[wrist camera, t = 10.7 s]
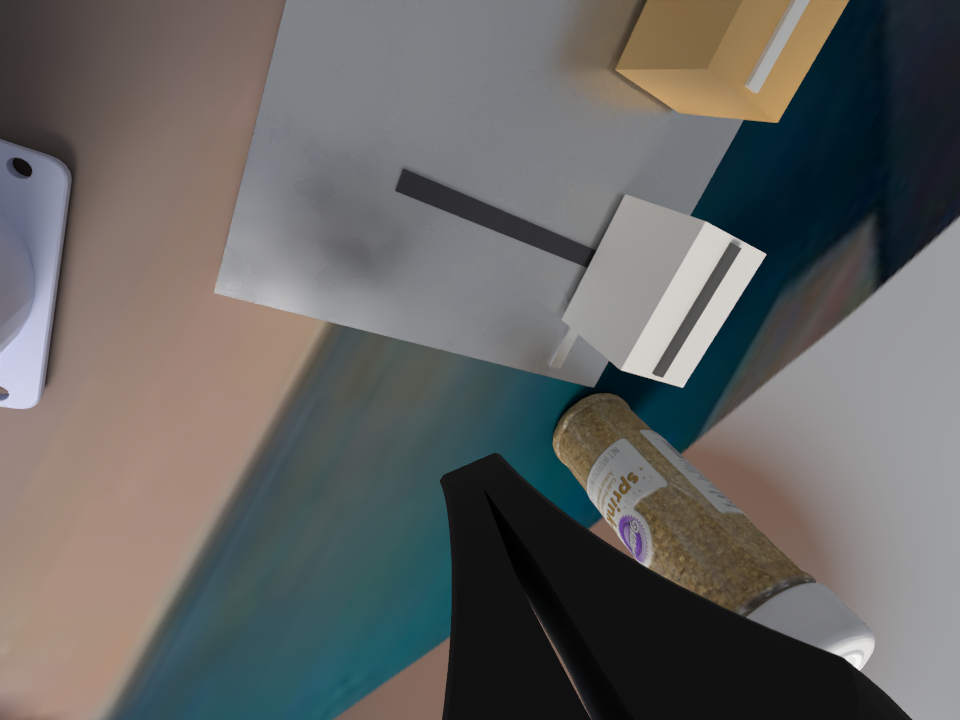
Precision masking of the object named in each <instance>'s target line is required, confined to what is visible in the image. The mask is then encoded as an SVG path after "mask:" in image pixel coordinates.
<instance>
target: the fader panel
mask: <svg viewBox="0 0 960 720" xmlns="http://www.w3.org/2000/svg"><path fill="white" fill-rule="evenodd" d="M646 2H647V0H286V3H285V7H284V11H283V15H282V19H281V23H280V27H279V31H278V36H277V40H276V44H275V48H274V52H273V56H272V60H271V64H270V68H269V72H268V76H267V80H266V84H265V88H264V92H263V96H262V101H261V105H260V109H259V113H258V117H257V121H256V125H255V129H254V133H253V137H252V141H251V145H250V149H249V153H248V157H247V161H246V166H245V170H244V174H243V178H242V182H241V186H240V190H239V194H238V198H237V202H236V206H235V210H234V214H233V218H232V222H231V226H230V231H229V235H228V239H227V243H226V247H225V251H224V255H223V259H222V263H221V267H220V271H219V275H218V279H217V283H216V287H215V291H214V293H217V294H221V295H225V296H229V297H233V298H237V299H241V300H245V301H249V302H253V303H257V304H261V305H265V306H269V307H273V308H277V309H281V310H285V311H289V312H293V313H297V314H301V315H305V316H309V317H313V318H317V319H321V320H325V321H329V322H333V323H337V324H341V325H345V326H349V327H353V328H357V329H361V330H365V331H369V332H373V333H377V334H381V335H385V336H389V337H393V338H397V339H401V340H405V341H409V342H413V343H417V344H421V345H425V346H429V347H433V348H437V349H441V350H445V351H449V352H453V353H457V354H461V355H465V356H469V357H473V358H477V359H481V360H485V361H489V362H493V363H497V364H501V365H505V366H509V367H513V368H517V369H521V370H525V371H529V372H533V373H537V374H541V375H545V376H549V377H553V378H557V379H561V380H565V381H569V382H573V383H577V384H581V385H585V386H589V387H593V388H594V386H595V385H596V383H597V381H598V379H599V378H600V376H601V374H602V372H603V370H604V369H605V367H606V365H607V363H608V361H609V360H608V359H607V358H606V357H604V356H603V355H602V354H601V353H600V352H599V351H597V350H596V349H595V348H594V347H593V346H592V345H590V344H589V343H588V342H587V341H586V340H584V339H583V338H582V337H581V336H580V335H579V334H577V333H576V332H575V331H574V330H573V329H572V328H570V327H569V326H568V325H567V324H566V323H565V322H563V321H562V318H563V316H564V314H565V312H566V310H567V308H568V306H569V304H570V302H571V300H572V298H573V296H574V294H575V292H576V290H577V288H578V286H579V284H580V282H581V280H582V278H583V276H584V274H585V272H586V270H587V268H588V266H589V265H590V263H591V261H592V259H593V257H594V255H595V253H596V251H597V249H598V247H599V245H600V243H601V241H602V239H603V237H604V235H605V233H606V231H607V229H608V227H609V225H610V223H611V221H612V219H613V217H614V215H615V213H616V211H617V209H618V207H619V205H620V203H621V201H622V200H623V198H624V196H625V194H627V195H629V196H632V197H635V198H638V199H641V200H644V201H647V202H650V203H653V204H656V205H659V206H662V207H665V208H668V209H671V210H674V211H677V212H679V213H682V214H685V215H688V216H690V215H691V213H692V211H693V210H694V208H695V206H696V204H697V202H698V201H699V199H700V197H701V195H702V194H703V192H704V190H705V188H706V186H707V185H708V183H709V181H710V179H711V177H712V176H713V174H714V172H715V170H716V169H717V167H718V165H719V163H720V161H721V160H722V158H723V156H724V154H725V152H726V151H727V149H728V147H729V145H730V144H731V142H732V140H733V138H734V136H735V135H736V133H737V131H738V129H739V127H740V126H741V124H742V122H743V119H732V118H722V117H712V116H701V115H691V114H680V113H678V112H677V111H675V110H674V109H672V108H671V107H669V106H668V105H666V104H665V103H663V102H662V101H660V100H659V99H657V98H656V97H655V96H653V95H652V94H650V93H649V92H647V91H646V90H644V89H643V88H641V87H640V86H638V85H637V84H635V83H634V82H632V81H631V80H629V79H628V78H626V77H625V76H623V75H622V74H620V73H619V72H617V71H616V70H615V69H616V67H617V64H618V62H619V60H620V58H621V56H622V54H623V51H624V49H625V47H626V45H627V43H628V41H629V39H630V36H631V34H632V32H633V30H634V28H635V26H636V23H637V21H638V19H639V17H640V15H641V13H642V10H643V8H644V6H645V4H646Z"/></svg>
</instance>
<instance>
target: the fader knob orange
mask: <svg viewBox="0 0 960 720" xmlns="http://www.w3.org/2000/svg"><path fill="white" fill-rule="evenodd" d="M848 1H849V0H647V2H646V4H645V6H644V8H643V10H642V13H641V15H640V17H639V19H638V21H637V23H636V26H635V28H634V30H633V32H632V34H631V36H630V39H629V41H628V43H627V45H626V47H625V49H624V51H623V54H622V56H621V58H620V60H619V62H618V64H617V67H616V69H615V70H616V71H617V72H619V73H620V74H622V75H623V76H625V77H626V78H628V79H629V80H631V81H632V82H634V83H635V84H637V85H638V86H640V87H641V88H643V89H644V90H646V91H647V92H649V93H650V94H652V95H653V96H655V97H656V98H657V99H659V100H660V101H662V102H663V103H665V104H666V105H668V106H669V107H671V108H672V109H674V110H675V111H677V112H678V113H680V114H691V115H701V116H712V117H722V118H732V119H743V120H753V121H763V122H774V123H778V121H779V120H780V118H781V116H782V115H783V113H784V111H785V109H786V108H787V106H788V104H789V103H790V101H791V99H792V97H793V96H794V94H795V92H796V91H797V89H798V87H799V85H800V84H801V82H802V80H803V78H804V77H805V75H806V73H807V72H808V70H809V68H810V66H811V65H812V63H813V61H814V60H815V58H816V56H817V54H818V53H819V51H820V49H821V48H822V46H823V44H824V42H825V41H826V39H827V37H828V36H829V34H830V32H831V30H832V29H833V27H834V25H835V24H836V22H837V20H838V18H839V17H840V15H841V13H842V12H843V10H844V8H845V6H846V5H847V3H848Z"/></svg>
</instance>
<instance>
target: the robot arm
mask: <svg viewBox="0 0 960 720" xmlns="http://www.w3.org/2000/svg"><path fill="white" fill-rule="evenodd" d="M14 158H21V159H23V160H25V161H27V162H28V163H29V165H30V166H31V167H32V172H33V173H32V175H31V177H30V176H24V175H22V174H20V173H18V172H17V171H16V170H15V168H14V166H13V160H14ZM71 181H72V180H71V173H70V171H69V169H68V168H67V166H66V165H65V164H64V163H63V162H62V161H60V160H59V159H57V158H55V157H53V156H51V155H48V154H45V153H42V152H39V151H36V150H33V149H29V148H26V147H23V146H20V145H17V144H14V143H11V142H8V141H5V140H2V139H0V387H3V388H5V389H6V390H7V391H8V393H9V394H1V393H0V407H8V408H15V409H27V408H31V407H33V406H35V405H36V404H37V403H38V402H39V401H40V399H41V398H42V396H43V393H44V386H45V378H46V371H47V363H48V356H49V348H50V340H51V333H52V325H53V318H54V310H55V303H56V295H57V287H58V280H59V272H60V265H61V257H62V250H63V242H64V234H65V227H66V219H67V212H68V204H69V197H70V189H71ZM440 483H441V485H442V488H443V492H444V496H445V500H446V506H447V512H448V520H449V528H450V543H451V559H452V614H451V635H450V650H449V662H448V673H447V683H446V691H445V701H444V710H443V717H442V720H912V719H911V718H910V717H909V716H908V715H907V714H906V713H905V712H904V711H903V710H902V709H901V708H900V707H899V706H898V705H897V704H896V703H895V702H894V701H893V700H892V699H891V698H890V697H889V696H888V695H887V694H886V693H885V692H884V691H883V690H881V689H880V688H879V687H878V686H877V685H876V684H874V683H873V682H872V681H871V680H870V679H869V678H867V677H866V676H865V675H864V674H863V673H861V672H860V671H859V670H858V669H857V668H856V667H854V666H853V665H852V664H851V663H849V662H848V661H847V660H846V659H845V658H843V657H841V656H838V655H836V654H833V653H831V652H828V651H826V650H823V649H821V648H818V647H815V646H813V645H810V644H808V643H805V642H802V641H800V640H798V639H795V638H793V637H790V636H788V635H785V634H783V633H781V632H778V631H776V630H773V629H771V628H768V627H766V626H764V625H762V624H759V623H757V622H755V621H753V620H750V619H748V618H746V617H744V616H741V615H739V614H737V613H735V612H732V611H730V610H728V609H726V608H724V607H722V606H720V605H718V604H716V603H714V602H712V601H710V600H708V599H706V598H704V597H702V596H700V595H698V594H696V593H694V592H692V591H690V590H688V589H686V588H684V587H682V586H680V585H678V584H676V583H674V582H672V581H670V580H669V579H667V578H665V577H663V576H661V575H660V574H658V573H656V572H654V571H653V570H651V569H649V568H647V567H645V566H644V565H642V564H640V563H639V562H637V561H635V560H634V559H632V558H630V557H629V556H627V555H625V554H624V553H622V552H621V551H619V550H618V549H616V548H614V547H613V546H611V545H610V544H608V543H607V542H605V541H604V540H602V539H601V538H599V537H598V536H596V535H595V534H594V533H592V532H591V531H589V530H588V529H586V528H585V527H584V526H582V525H581V524H579V523H578V522H577V521H575V520H574V519H573V518H571V517H570V516H569V515H567V514H566V513H565V512H564V511H562V510H561V509H560V508H558V507H557V506H556V505H555V504H553V503H552V502H551V501H550V500H548V499H547V498H546V497H545V496H543V495H542V494H541V493H540V492H539V491H537V490H536V489H535V488H534V487H533V486H532V485H531V484H530V483H528V482H527V481H526V480H525V479H524V478H523V477H522V476H521V475H520V474H519V473H518V472H517V471H515V470H514V469H513V468H512V467H511V466H510V465H509V463H508V462H507V461H506V460H505V459H504V458H503V457H502V456H501V455H500V454H497V453H493V454H491V455H489V456H486V457H484V458H482V459H479V460H477V461H475V462H472V463H470V464H468V465H465V466H463V467H461V468H459V469H456V470H454V471H452V472H449V473H447V474H445V475H443V477H442V478H441V480H440ZM531 606H532V607H531ZM532 608H533V609H532ZM533 610H534V611H535V613H536V615H537V617H538V618H539V620H540V622H541V624H542V625H543V627H544V629H545V630H546V632H547V634H548V636H549V637H550V639H551V641H552V643H553V644H554V646H555V648H556V649H557V651H558V653H559V655H560V656H561V658H562V660H563V662H564V664H565V666H566V668H567V670H568V671H569V673H570V675H571V677H572V679H573V682H574V684H575V686H576V688H577V690H578V692H579V694H580V696H581V698H582V701H583V702H584V705H585V707H586V709H587V711H588V713H589V715H590V717H589V715H588V713H587V712H586V710H585V708H584V706H583V704H582V702H581V700H580V699H579V697H578V695H577V693H576V691H575V689H574V688H573V686H572V684H571V682H570V680H569V678H568V676H567V674H566V672H565V670H564V668H563V667H562V665H561V663H560V661H559V659H558V657H557V655H556V653H555V651H554V649H553V648H552V646H551V644H550V642H549V640H548V638H547V636H546V634H545V632H544V630H543V628H542V626H541V624H540V623H539V621H538V619H537V617H536V615H535V613H534V611H533ZM590 718H591V719H590Z"/></svg>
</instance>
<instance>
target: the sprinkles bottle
mask: <svg viewBox="0 0 960 720" xmlns="http://www.w3.org/2000/svg"><path fill="white" fill-rule="evenodd" d="M552 444H553V447H554V451H555V453H556V455H557V457H558V458H559V459H560V460H561V461H562V462H563V463H564V464H565V465H567V466H568V468H569V469H570V470H571V472H572V473H573V474H574V476H575V477H576V478H577V480H578V481H579V482H580V483H581V485H582V486H583V488H584V489H585V490H586V491H587V493H588V496H589V498H590V499H591V501H592V502H593V503H594V505H595V506H596V507H597V509H598V510H599V511H600V513H601V514H602V515H603V517H604V518H605V519H606V521H607V522H608V523H609V525H610V526H611V527H612V529H613V530H614V531H615V532H616V534H617V535H618V536H619V538H620V539H621V541H622V542H623V543H624V544H625V545H626V547H627V548H628V549H629V551H630V552H631V553H632V555H633V556H634V557H635V559H636V560H637V561H638V562H639V563H640V564H642V565H644V566H645V567H647V568H649V569H651V570H653V571H654V572H656V573H658V574H660V575H661V576H663V577H665V578H667V579H669V580H670V581H672V582H674V583H676V584H678V585H680V586H682V587H684V588H686V589H688V590H690V591H692V592H694V593H696V594H698V595H700V596H702V597H704V598H706V599H708V600H710V601H712V602H714V603H716V604H718V605H720V606H722V607H724V608H726V609H728V610H730V611H732V612H735V613H737V614H739V615H741V616H744V617H746V618H748V619H750V620H753V621H755V622H757V623H759V624H762V625H764V626H766V627H768V628H771V629H773V630H776V631H778V632H781V633H783V634H785V635H788V636H790V637H793V638H795V639H798V640H800V641H802V642H805V643H808V644H810V645H813V646H815V647H818V648H821V649H823V650H826V651H828V652H831V653H833V654H836V655H838V656H841V657H843V658H845V659H846V660H847V661H848V662H849V663H851V664H852V665H853V666H854V667H856V668H857V669H858V670H859V671H860V669H861V668H862V667H863V666H864V664H865V663H866V662H867V660H868V659H869V657H870V655H871V654H872V652H873V649H874V646H875V636H874V634H873V632H872V630H871V629H870V628H869V627H868V626H867V625H866V624H865V623H864V622H863V621H862V620H861V619H860V618H859V617H858V616H857V615H856V614H855V613H854V612H853V611H852V610H851V609H850V608H849V607H848V606H847V605H846V604H845V603H844V602H843V601H842V600H841V599H840V598H839V597H838V596H837V595H836V594H834V593H833V592H832V591H831V590H830V589H829V588H828V587H827V586H826V585H824V584H821V583H816V581H815V578H814V577H813V576H811V575H810V574H808V573H806V572H803V571H801V570H800V569H799V568H798V566H796V565H795V563H794V562H793V561H791V560H790V559H789V558H788V557H787V556H786V555H785V554H784V553H783V552H781V551H780V550H779V549H778V548H777V547H776V546H775V545H774V544H773V543H772V542H771V541H770V540H769V539H768V538H767V537H766V536H765V535H764V534H763V533H762V532H761V531H760V530H758V529H757V528H756V526H754V525H753V524H752V523H751V522H750V521H749V519H748V518H747V516H746V515H745V514H744V513H743V512H742V511H741V510H740V509H739V508H738V507H736V506H735V505H734V504H733V503H732V502H731V501H730V500H729V499H728V498H727V497H726V496H725V495H724V494H723V493H722V492H721V491H720V490H718V489H717V488H716V487H715V486H714V485H713V484H712V483H711V482H710V481H709V480H708V479H707V478H706V477H705V476H704V475H703V474H702V473H700V472H699V471H698V470H697V469H696V468H695V467H694V466H693V465H692V464H691V463H690V462H688V461H687V460H686V459H685V458H684V457H683V456H682V455H681V454H680V453H679V452H678V451H677V450H676V449H674V448H673V447H672V446H671V445H670V444H669V443H668V442H667V441H666V440H665V439H664V438H663V437H662V436H660V435H659V434H658V433H656V432H654V431H653V430H651V429H650V428H649V427H648V426H647V425H646V424H645V423H644V422H643V421H642V420H641V419H640V418H639V417H638V416H637V415H636V414H635V413H634V412H633V411H632V410H630V407H629V406H628V404H627V403H626V402H625V401H624V400H623V399H622V398H620V397H619V396H617V395H613V394H609V393H599V394H592V395H590V396H588V397H586V398H583V399H581V400H580V401H579V402H578V403H576V404H574V405H573V406H572V407H571V408H569V409H568V410H567V412H566V413H565V414H564V415H563V416H562V417H561V419H560V421H559V422H558V425H557V427H556V429H555V433H554V435H553V443H552Z"/></svg>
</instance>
